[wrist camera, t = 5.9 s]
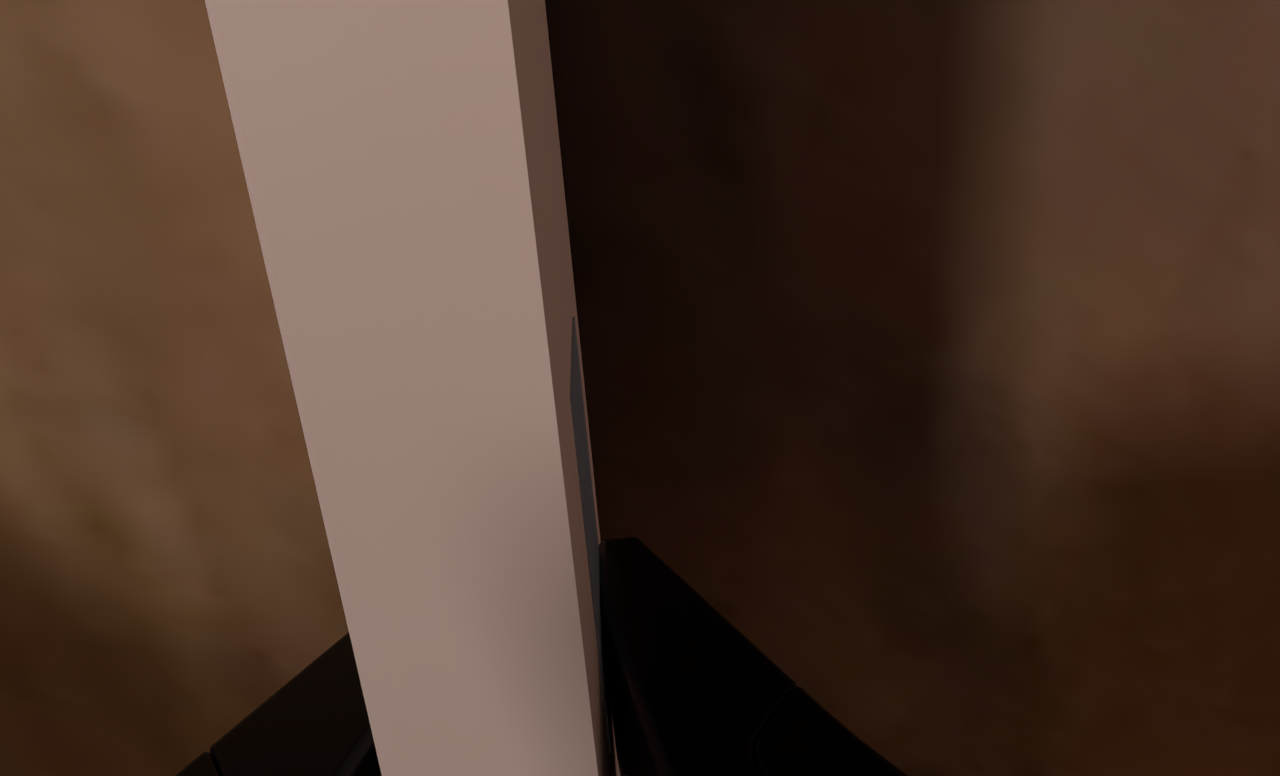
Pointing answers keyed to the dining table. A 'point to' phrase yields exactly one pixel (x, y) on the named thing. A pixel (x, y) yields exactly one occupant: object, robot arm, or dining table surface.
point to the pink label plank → (434, 364)
